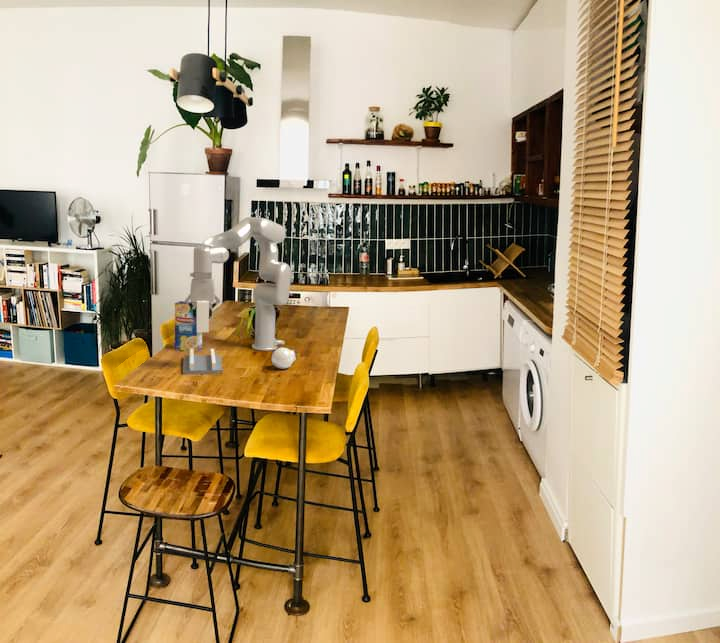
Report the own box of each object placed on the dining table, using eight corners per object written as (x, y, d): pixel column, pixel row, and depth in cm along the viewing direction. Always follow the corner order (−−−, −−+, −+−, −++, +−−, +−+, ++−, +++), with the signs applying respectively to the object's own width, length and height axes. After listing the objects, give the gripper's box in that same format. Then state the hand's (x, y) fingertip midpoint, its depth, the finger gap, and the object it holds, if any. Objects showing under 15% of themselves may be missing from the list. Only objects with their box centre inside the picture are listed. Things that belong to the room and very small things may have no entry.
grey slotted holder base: (220, 358, 323) (220, 348, 322) (222, 373, 298) (222, 363, 297) (183, 358, 319) (183, 348, 318) (183, 374, 294) (183, 363, 293)
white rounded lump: (274, 374, 305) (287, 370, 320) (292, 363, 303) (304, 359, 318) (264, 355, 306) (277, 352, 321) (282, 344, 304) (294, 341, 318)
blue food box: (196, 351, 333) (196, 305, 329) (174, 349, 335) (174, 303, 331) (202, 348, 340) (202, 302, 336) (180, 346, 342) (180, 301, 338)
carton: (208, 328, 310) (208, 298, 308) (208, 332, 302) (208, 302, 299) (196, 328, 309) (196, 298, 307) (196, 332, 301) (196, 302, 298)
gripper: (181, 277, 295) (181, 319, 299) (223, 277, 299) (223, 319, 303) (181, 274, 303) (182, 316, 306) (222, 275, 306) (222, 316, 310)
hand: (202, 317), depth 304 cm, fingers closed on carton, 5 cm apart
